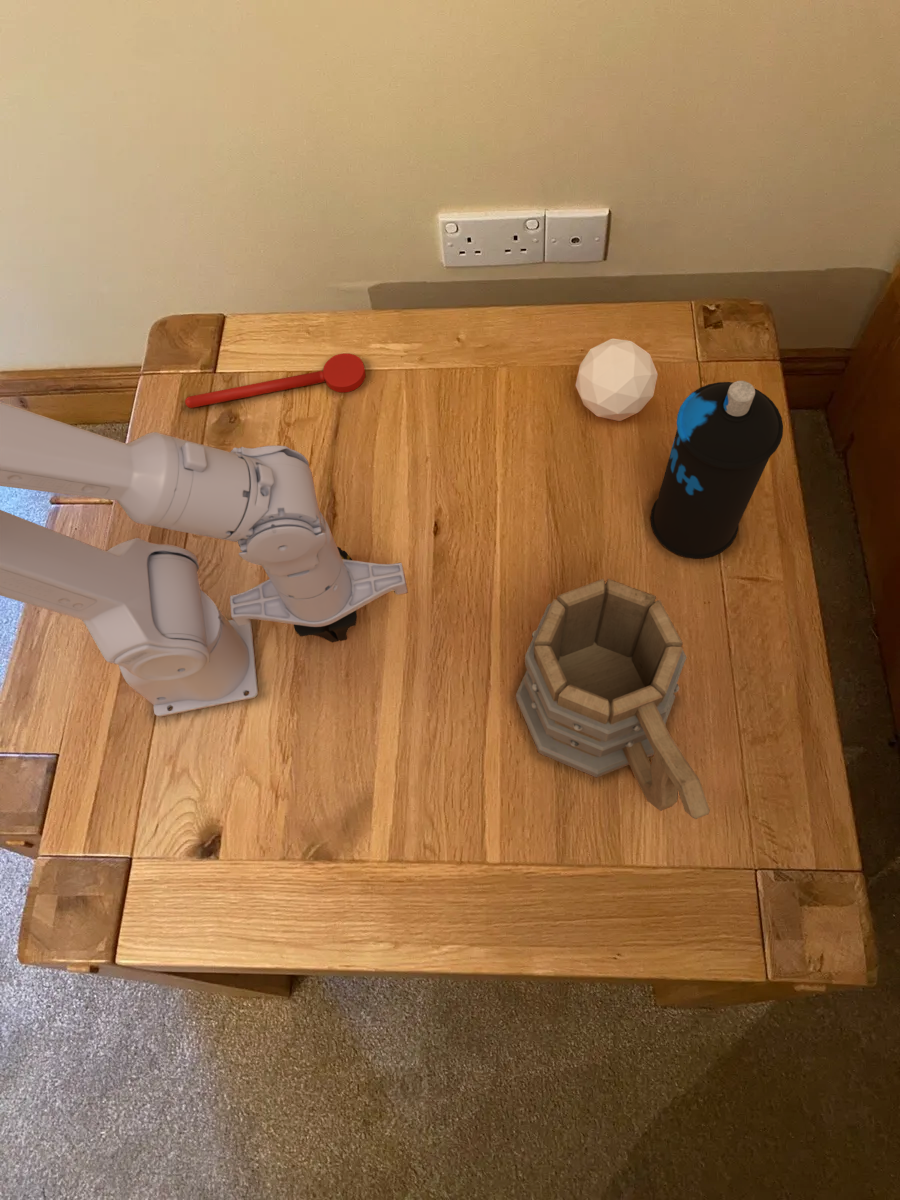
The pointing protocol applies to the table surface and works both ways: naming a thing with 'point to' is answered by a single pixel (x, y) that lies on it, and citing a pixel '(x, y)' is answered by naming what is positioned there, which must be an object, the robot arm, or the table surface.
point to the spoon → (294, 382)
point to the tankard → (609, 690)
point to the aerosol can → (714, 467)
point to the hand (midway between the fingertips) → (337, 631)
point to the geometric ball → (616, 379)
